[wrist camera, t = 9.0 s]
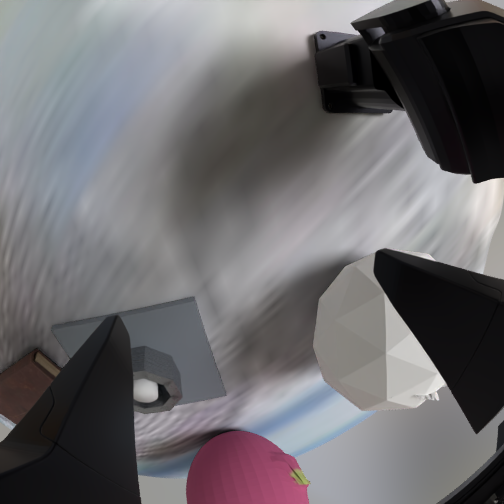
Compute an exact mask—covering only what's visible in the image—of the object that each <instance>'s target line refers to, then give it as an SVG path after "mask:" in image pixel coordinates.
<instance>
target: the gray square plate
mask: <svg viewBox="0 0 504 504" xmlns="http://www.w3.org/2000/svg"><path fill="white" fill-rule="evenodd" d="M116 314H117V315H119V316H120V317H121V319H122V321H123V323H124V325H125V327H126V329H127V331H128V333H129V336H130V343H131V348H135V347H140V346H147V347H150V348H152V349H155V350H157V351H160V352H163V353H165V354H168V355H171V356H172V357H173V360H174V362H175V364H176V366H177V368H178V370H179V372H180V375H181V385H182V394H183V398H182V399H181V400H180V401H179V402H178V403H177V404H176V405H175V406H177V405H182V404H188V403H193V402H199V401H204V400H208V399H213V398H218V397H222V396H227V395H226V391H225V389H224V386H223V383H222V380H221V377H220V375H219V372H218V369H217V366H216V363H215V360H214V357H213V354H212V351H211V348H210V345H209V342H208V339H207V336H206V333H205V330H204V327H203V324H202V321H201V317H200V314H199V311H198V308H197V304H196V301H195V298H194V297H190V298H186V299H181V300H177V301H172V302H168V303H163V304H159V305H154V306H149V307H145V308H140V309H135V310H131V311H126V312H121V313H116ZM116 314H111V315H116ZM111 315H106V316H101V317H96V318H91V319H86V320H81V321H76V322H70V323H65V324H59V325H54V326H53V327H52V329H51V331H52V332H53V334H54V335H55V337H56V338H57V340H58V341H59V343H60V344H61V346H62V347H63V349H64V350H65V352H66V353H67V355H68V356H69V358H70V359H71V358H72V357H73V355H74V354H75V353H76V352H77V351H78V349H79V348H80V347H81V346H82V345H83V343H84V342H85V341H86V340H87V339H88V338H89V336H90V335H91V334H92V333H93V332H94V331H95V329H96V328H97V327H98V326H99V325H100V324H101V323H102V321H103V320H104V319H105V318H106V317H107V316H111ZM133 381H134V399H135V400H136V401H139V402H144V403H149V402H153V401H155V400H156V399H157V398H158V383H156V382H153V381H150V380H147V379H139V380H133Z"/></svg>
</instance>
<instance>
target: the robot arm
mask: <svg viewBox="0 0 504 504" xmlns="http://www.w3.org/2000/svg"><path fill="white" fill-rule="evenodd" d="M351 25H352V26H353V27H354V29H355V30H356V31H357V30H358V32H359V33H360V35H352V34H345V33H338V32H329V31H319V32H317V33H315V35H314V39H315V46H316V54H315V60H316V67H317V75H318V84H319V86H320V87H321V94H322V104H323V109H324V110H325V111H326V112H328V113H391V112H392V110H400V111H406V113H407V115H408V117H409V119H410V121H411V123H412V125H413V127H414V130H415V132H416V135H417V137H418V139H419V141H420V143H421V145H422V148H423V150H424V151H425V153H426V155H427V157H429V158H430V159H432V160H433V161H434V162H436V163H437V164H439V165H440V168H441V169H442V170H444V171H448V172H451V173H455V174H464V175H471V177H472V181H473V183H475V184H477V183H480V182H483V181H487V180H490V179H495V178H504V10H503V9H501V8H499V7H497V6H494V5H492V4H489V3H487V2H484V1H482V0H458V1H453V2H448V3H446V2H445V1H444V0H394V1H392V2H390V3H388V4H386V5H384V6H382V7H380V8H378V9H376V10H374V11H372V12H370V13H368V14H366V15H364V16H362V17H360V18H359V19H357V20H355V21H353V22H351ZM320 35H322V36H323V40H322V39H321V38H320ZM329 104H331V105H332V108H331V109H329V107H328V105H329ZM373 273H374V276H375V278H376V279H377V281H378V283H379V284H380V286H381V287H382V289H383V291H384V292H385V294H386V296H387V297H388V299H389V301H390V302H391V304H392V305H393V307H394V308H395V310H396V311H397V313H398V314H399V315H400V317H401V318H402V319H403V321H404V322H405V324H406V325H407V326H408V328H409V329H410V330H411V332H412V333H413V335H414V336H415V338H416V339H417V340H418V342H419V343H420V345H421V346H422V348H423V349H424V351H425V352H426V354H427V355H428V356H429V358H430V359H431V361H432V362H433V364H434V366H435V367H436V369H437V370H438V372H439V373H440V375H441V376H442V378H443V379H444V381H445V383H446V384H447V386H448V387H449V389H450V390H451V392H452V394H453V396H454V397H455V399H456V400H457V402H458V404H459V406H460V407H461V409H462V411H463V413H464V414H465V416H466V418H467V420H468V421H469V423H470V425H471V427H472V428H473V430H474V432H475V433H476V434H478V433H479V432H480V431H481V430H482V429H483V428H484V427H485V426H486V425H487V424H488V423H489V422H490V421H491V420H492V419H493V418H494V417H495V416H496V415H497V414H498V413H499V412H500V411H501V410H502V409H503V408H504V280H503V279H498V278H494V277H490V276H486V275H483V274H479V273H476V272H472V271H469V270H468V271H467V270H465V269H462V268H458V267H455V266H451V265H448V264H444V263H440V262H437V261H433V260H429V259H426V258H422V257H418V256H414V255H411V254H407V253H403V252H399V251H395V250H391V249H387V248H384V249H381V250H378V251H376V253H375V259H374V268H373ZM0 504H141V497H140V490H139V482H138V473H137V462H136V449H135V432H134V381H133V368H132V356H131V343H130V336H129V333H128V331H127V329H126V327H125V325H124V323H123V321H122V319H121V317H120V316H119V315H117V314H116V315H111V316H107V317H106V318H105V319H104V320H103V321H102V323H101V324H100V325H99V326H98V327H97V328H96V329H95V331H94V332H93V333H92V334H91V335H90V336H89V338H88V339H87V340H86V341H85V342H84V343H83V345H82V346H81V347H80V348H79V349H78V351H77V352H76V353H75V354H74V355H73V357H72V358H71V359H70V360H69V361H68V363H67V364H66V365H65V366H64V367H63V369H62V370H61V371H60V372H59V374H58V375H57V376H56V377H55V379H54V380H53V381H52V382H51V384H50V386H48V388H47V389H46V390H45V391H44V393H43V394H42V395H41V397H40V398H39V399H38V400H37V402H36V403H35V404H34V405H33V406H32V408H31V409H30V410H29V411H28V412H27V413H26V415H25V416H24V417H23V418H22V419H21V420H20V421H19V423H18V424H17V425H16V426H15V427H14V428H13V430H12V431H11V432H10V433H9V434H8V436H7V437H6V438H5V439H4V440H3V441H2V442H0ZM437 504H504V421H503V422H502V423H501V424H500V425H499V426H498V439H497V449H496V453H495V454H494V455H493V456H492V457H491V458H490V459H489V460H488V461H487V462H486V463H485V464H484V465H483V466H482V467H480V468H479V469H478V470H477V471H476V472H475V473H474V474H473V475H472V476H470V477H469V478H468V479H467V480H466V481H465V482H464V483H462V484H461V485H460V486H459V487H458V488H456V489H455V490H454V491H453V492H451V493H450V494H449V495H447V496H446V497H445V498H443V499H442V500H441V501H439V502H438V503H437Z"/></svg>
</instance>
